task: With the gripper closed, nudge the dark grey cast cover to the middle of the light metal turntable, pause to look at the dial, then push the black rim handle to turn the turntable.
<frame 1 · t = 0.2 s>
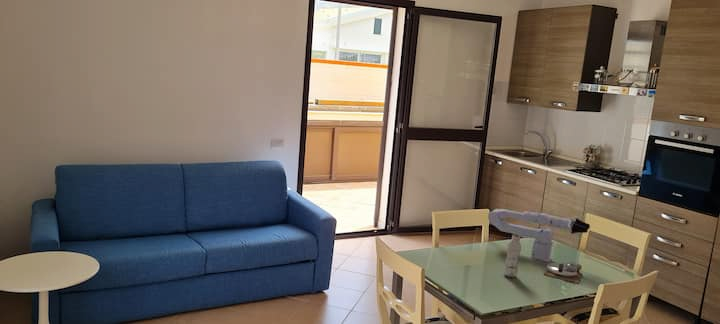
hand: (588, 228, 282), 22 cm above the table, tool horizontal, fingers open, 7 cm apart
turntable: (562, 266, 275), point 4 cm above the table, hinge at 0.0°, touching cover
plastic bottle: (509, 276, 263), on the table
base board: (562, 274, 274), on the table
cover: (570, 270, 273), point 3 cm above the table, touching turntable
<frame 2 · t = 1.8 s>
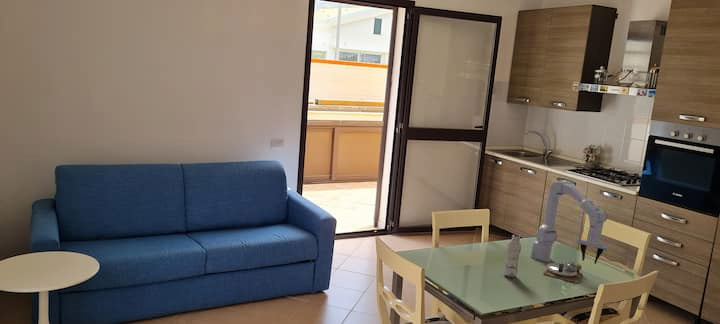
hand: (589, 261, 268), 9 cm above the table, tool pointing down, fingers open, 5 cm apart
nothing on the table moved.
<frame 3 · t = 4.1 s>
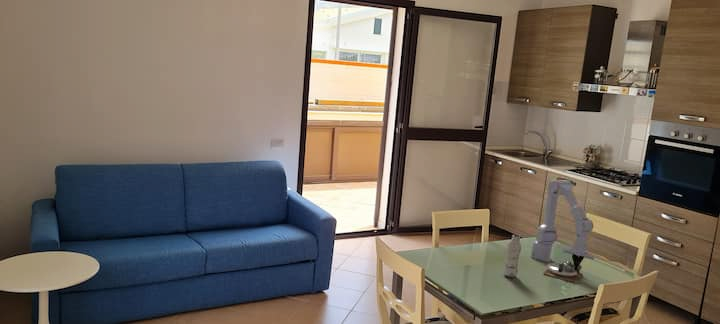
hand: (575, 269, 272), 4 cm above the table, tool pointing down, fingers closed
cover: (567, 269, 274), point 3 cm above the table, touching gripper, turntable
everything else where it was.
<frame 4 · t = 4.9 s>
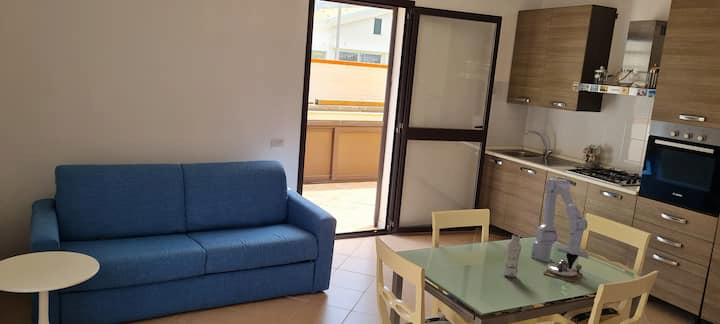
hand: (569, 268, 273), 4 cm above the table, tool pointing down, fingers closed
cover: (561, 268, 275), point 3 cm above the table, touching gripper, turntable
everything else where it was.
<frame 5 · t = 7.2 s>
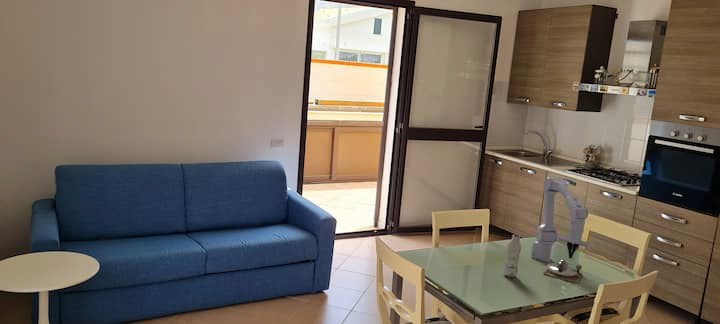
hand: (570, 257, 271), 9 cm above the table, tool pointing down, fingers closed
cover: (561, 268, 275), point 3 cm above the table, touching turntable
everything else where it was.
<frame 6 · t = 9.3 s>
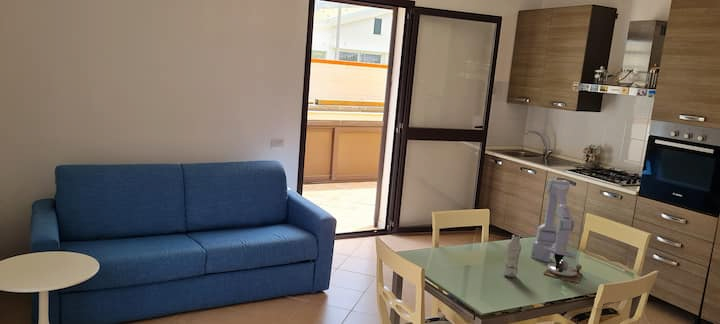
hand: (556, 268, 270), 4 cm above the table, tool pointing down, fingers closed, pressing on turntable
turntable: (562, 266, 275), point 4 cm above the table, hinge at 0.7°, touching cover, gripper
everything else where it was.
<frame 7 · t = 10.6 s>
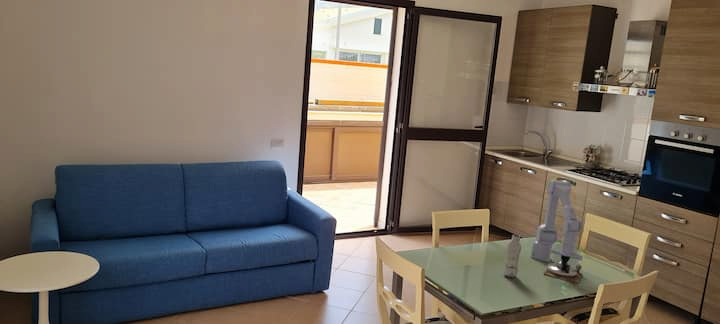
hand: (563, 270, 269), 4 cm above the table, tool pointing down, fingers closed, pressing on turntable
turntable: (562, 266, 275), point 4 cm above the table, hinge at 29.4°, touching cover, gripper
everything else where it was.
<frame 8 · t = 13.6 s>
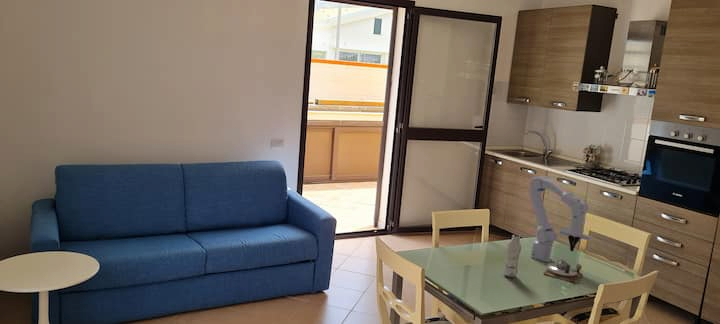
hand: (571, 250, 281), 10 cm above the table, tool pointing down, fingers closed
turntable: (562, 266, 275), point 4 cm above the table, hinge at 29.6°, touching cover
everything else where it was.
at the end: cover 0.2 cm from the turntable (horizontally); turntable at +30° (first picture: +0°); cover tilted 0° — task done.
